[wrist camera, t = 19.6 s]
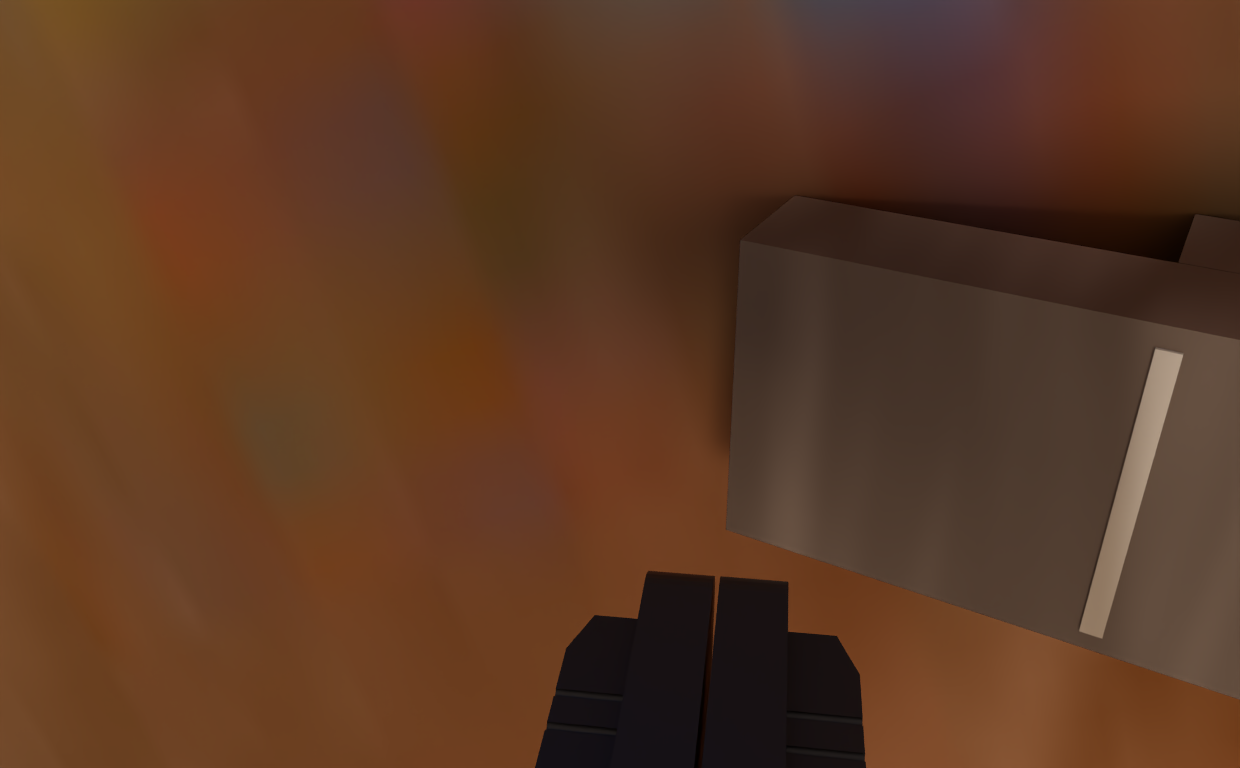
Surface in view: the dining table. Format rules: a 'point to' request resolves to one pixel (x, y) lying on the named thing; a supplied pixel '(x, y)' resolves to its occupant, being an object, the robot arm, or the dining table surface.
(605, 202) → the dining table surface
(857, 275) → the tile
